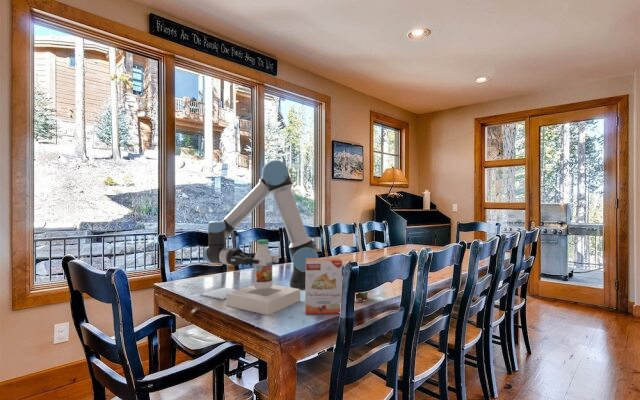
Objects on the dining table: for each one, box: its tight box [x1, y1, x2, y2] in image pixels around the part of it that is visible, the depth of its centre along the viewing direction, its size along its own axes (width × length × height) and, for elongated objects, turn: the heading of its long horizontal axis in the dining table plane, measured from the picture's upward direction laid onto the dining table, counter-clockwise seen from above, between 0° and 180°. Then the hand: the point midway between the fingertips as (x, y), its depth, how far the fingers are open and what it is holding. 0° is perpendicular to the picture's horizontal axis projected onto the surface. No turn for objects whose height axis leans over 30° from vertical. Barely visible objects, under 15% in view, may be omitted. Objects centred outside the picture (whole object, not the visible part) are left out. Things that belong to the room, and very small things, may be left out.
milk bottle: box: [253, 239, 273, 289], centre depth 145 cm, size 8×8×20 cm
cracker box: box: [304, 257, 343, 315], centre depth 134 cm, size 14×6×21 cm, turn 95°
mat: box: [200, 287, 237, 301], centre depth 159 cm, size 14×14×1 cm
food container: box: [356, 291, 369, 301], centre depth 152 cm, size 12×6×10 cm, turn 168°
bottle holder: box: [225, 284, 301, 316], centre depth 145 cm, size 22×22×5 cm
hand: (272, 260), depth 143 cm, fingers closed on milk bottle, 7 cm apart
